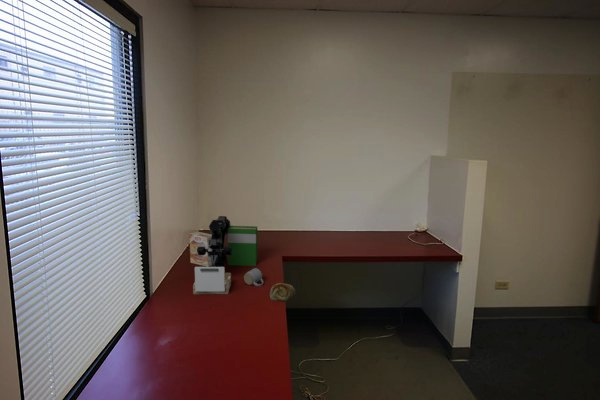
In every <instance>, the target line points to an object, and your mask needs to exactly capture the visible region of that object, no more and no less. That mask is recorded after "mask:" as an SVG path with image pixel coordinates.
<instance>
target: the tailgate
mask: <svg viewBox="0 0 600 400" xmlns="http://www.w3.org/2000/svg"><path fill="white" fill-rule="evenodd" d="M225 271H226V270H225V266H224V267H215V266H209V267H206V266H195V267H194V283H195V291H225Z"/></svg>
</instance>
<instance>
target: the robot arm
mask: <svg viewBox="0 0 600 400" xmlns="http://www.w3.org/2000/svg"><path fill="white" fill-rule="evenodd" d="M230 226H232V225H231V221H230V220H229V219H228V217H227V216H226V215H219V216H218V218H216V219H212V220H211V222H210V224H209V226H208V228H209V233H210V234H212V236H211V240H209V248H210V249H205V247H198V248H197V252H198V255H205V254H206V252H207V253H208V256H210V257H211V262H212V265H211V266H214V267H225V265H226V264H228V255H232V248H231V247H228V246H225V245H226V237H227V236H228V228H229V227H230ZM225 273H228V272H227V271H226V270H225Z"/></svg>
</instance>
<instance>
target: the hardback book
mask: <svg viewBox="0 0 600 400" xmlns="http://www.w3.org/2000/svg"><path fill="white" fill-rule="evenodd" d="M227 247H231V248H232V255H227V265H228V266H243V267H245V266H246V267H247V266H249V267H256V266H257V263H258V226H253V225H252V226H248V225H247V226H245V225H231V226H230V227H229V228H228V234H227Z"/></svg>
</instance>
